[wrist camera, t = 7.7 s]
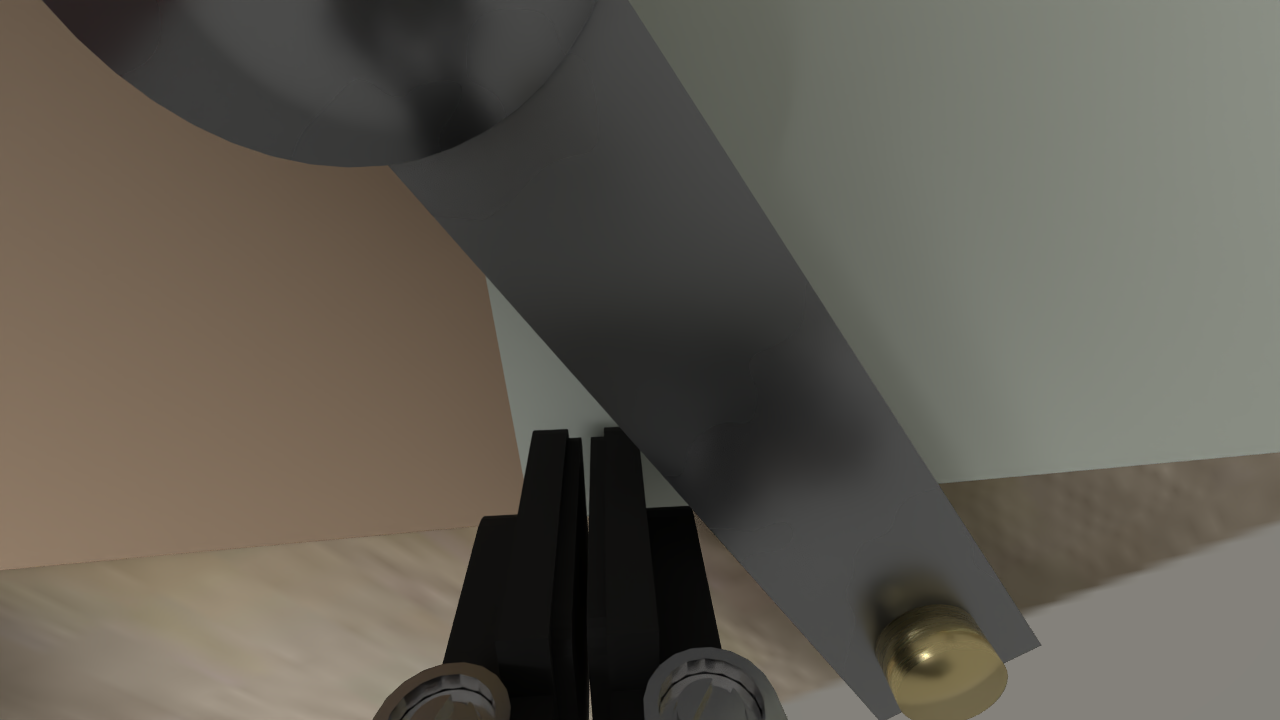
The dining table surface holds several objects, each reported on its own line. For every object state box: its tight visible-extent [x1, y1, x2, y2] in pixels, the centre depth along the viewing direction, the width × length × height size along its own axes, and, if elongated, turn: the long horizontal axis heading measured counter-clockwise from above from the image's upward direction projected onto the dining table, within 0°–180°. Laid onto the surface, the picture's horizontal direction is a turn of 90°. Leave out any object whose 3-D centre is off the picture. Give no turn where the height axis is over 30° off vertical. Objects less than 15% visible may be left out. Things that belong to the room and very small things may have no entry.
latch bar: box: [42, 0, 1041, 720], centre depth 7 cm, size 14×5×4 cm, turn 36°
